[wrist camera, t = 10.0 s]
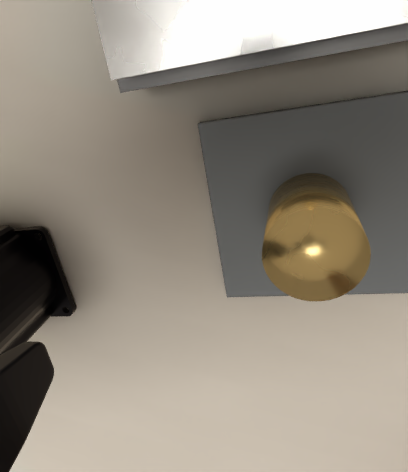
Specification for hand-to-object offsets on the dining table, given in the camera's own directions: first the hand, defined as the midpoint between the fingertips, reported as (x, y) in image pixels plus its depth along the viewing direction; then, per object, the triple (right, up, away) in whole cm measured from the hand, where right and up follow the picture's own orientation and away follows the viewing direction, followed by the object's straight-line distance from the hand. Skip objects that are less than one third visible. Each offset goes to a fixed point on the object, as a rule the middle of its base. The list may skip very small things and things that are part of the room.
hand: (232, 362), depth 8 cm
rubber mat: (+5, +4, +11) cm, 13 cm away
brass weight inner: (+5, +4, +11) cm, 12 cm away
